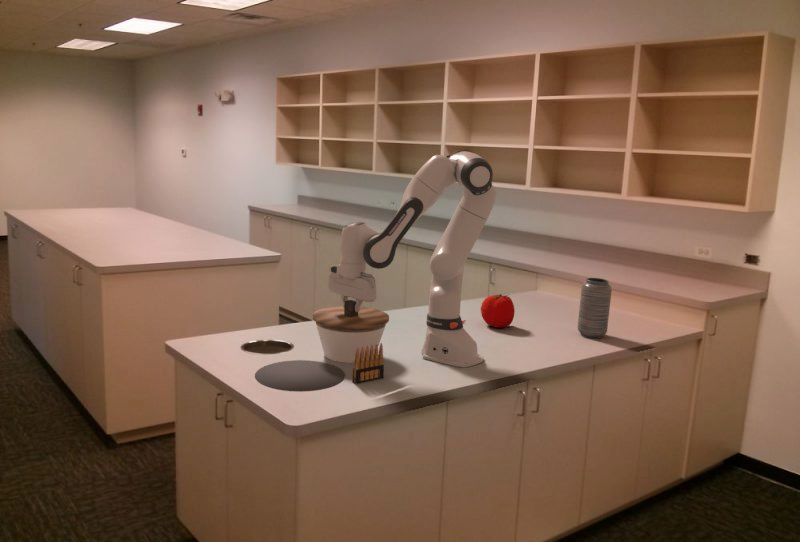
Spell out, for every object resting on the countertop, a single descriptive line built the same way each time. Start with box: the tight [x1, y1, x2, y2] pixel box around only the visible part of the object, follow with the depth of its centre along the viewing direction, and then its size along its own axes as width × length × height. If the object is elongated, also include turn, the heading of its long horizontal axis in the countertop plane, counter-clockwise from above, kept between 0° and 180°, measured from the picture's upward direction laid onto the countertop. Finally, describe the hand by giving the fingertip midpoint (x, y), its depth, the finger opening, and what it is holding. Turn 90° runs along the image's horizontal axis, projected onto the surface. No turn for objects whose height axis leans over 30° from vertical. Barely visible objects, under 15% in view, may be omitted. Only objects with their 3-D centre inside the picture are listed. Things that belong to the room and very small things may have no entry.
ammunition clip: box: [352, 342, 385, 385], centre depth 212 cm, size 11×2×12 cm, turn 127°
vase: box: [577, 277, 613, 339], centre depth 275 cm, size 12×12×23 cm
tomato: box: [480, 293, 516, 329], centre depth 283 cm, size 16×14×14 cm
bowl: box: [315, 322, 387, 364], centre depth 236 cm, size 24×24×12 cm
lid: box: [312, 299, 390, 329], centre depth 234 cm, size 26×26×6 cm
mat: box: [254, 359, 346, 392], centre depth 215 cm, size 28×28×1 cm
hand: (351, 309), depth 234 cm, fingers closed on lid, 3 cm apart
